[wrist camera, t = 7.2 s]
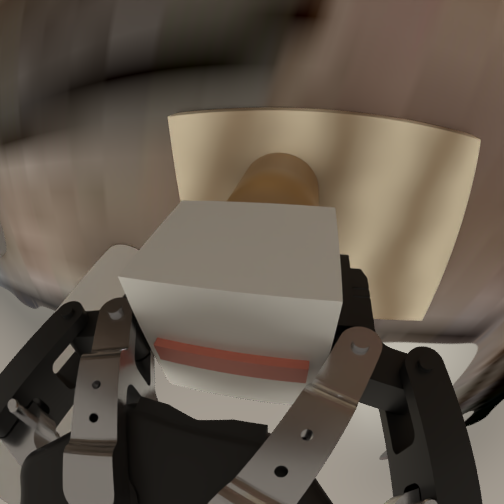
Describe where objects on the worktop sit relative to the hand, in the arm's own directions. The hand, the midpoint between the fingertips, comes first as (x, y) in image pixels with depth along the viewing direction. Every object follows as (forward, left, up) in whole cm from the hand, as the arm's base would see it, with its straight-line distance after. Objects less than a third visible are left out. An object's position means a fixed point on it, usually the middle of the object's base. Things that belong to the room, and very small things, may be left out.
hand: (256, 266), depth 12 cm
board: (-3, +3, -9) cm, 10 cm away
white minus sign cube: (0, 0, 0) cm, 0 cm away
